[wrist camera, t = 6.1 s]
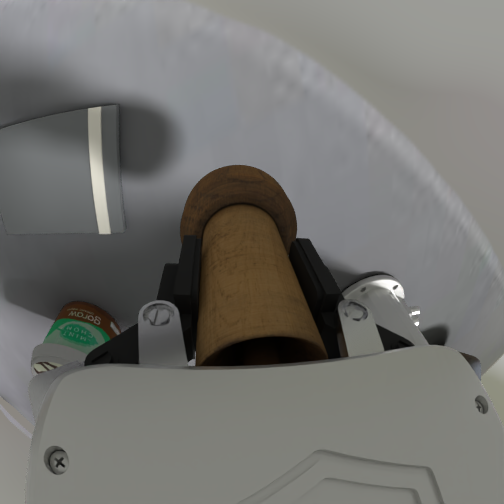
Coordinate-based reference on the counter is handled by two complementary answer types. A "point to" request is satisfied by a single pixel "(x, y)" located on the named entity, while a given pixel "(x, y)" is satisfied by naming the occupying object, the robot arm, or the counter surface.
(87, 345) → the food container
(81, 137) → the mat
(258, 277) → the brown wooden turned post
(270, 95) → the counter surface
